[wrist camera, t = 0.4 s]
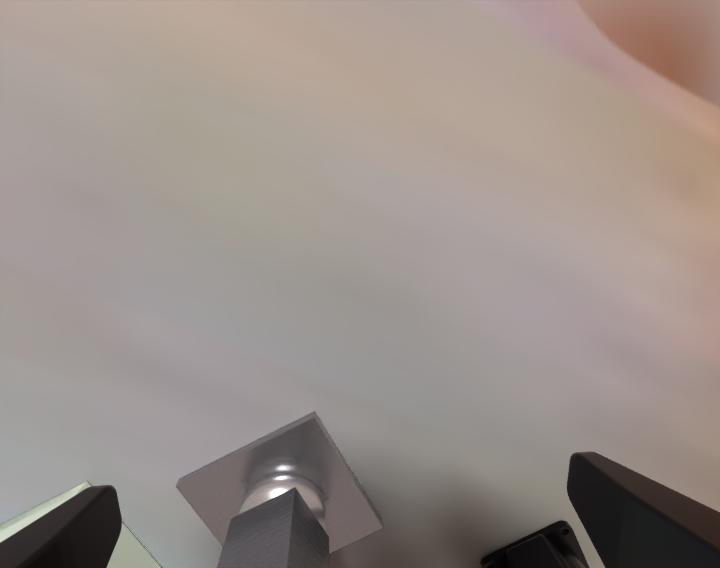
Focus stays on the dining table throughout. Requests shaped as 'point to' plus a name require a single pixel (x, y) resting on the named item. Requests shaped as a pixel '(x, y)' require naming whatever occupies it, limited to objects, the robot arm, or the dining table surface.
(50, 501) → the bin
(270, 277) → the dining table surface
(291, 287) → the dining table surface
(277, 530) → the strut
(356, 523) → the stud
